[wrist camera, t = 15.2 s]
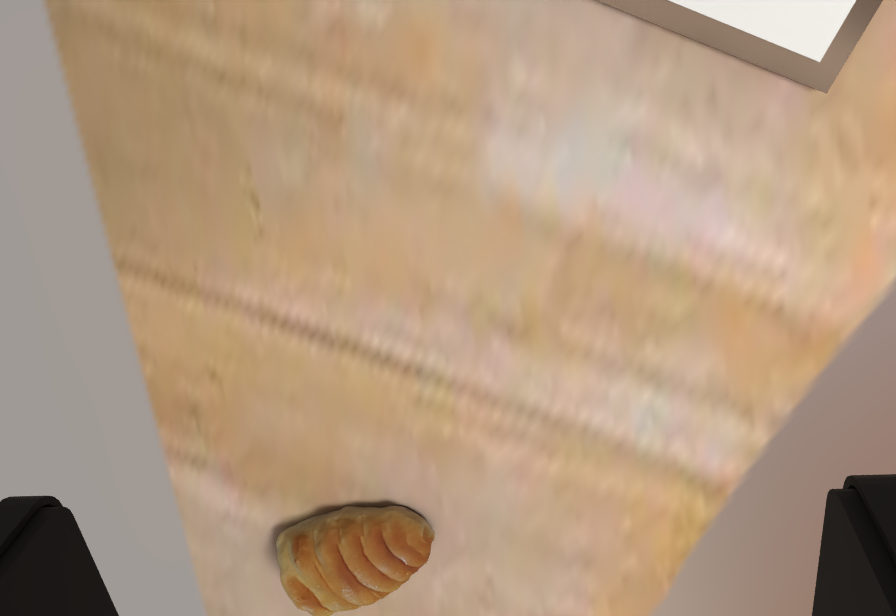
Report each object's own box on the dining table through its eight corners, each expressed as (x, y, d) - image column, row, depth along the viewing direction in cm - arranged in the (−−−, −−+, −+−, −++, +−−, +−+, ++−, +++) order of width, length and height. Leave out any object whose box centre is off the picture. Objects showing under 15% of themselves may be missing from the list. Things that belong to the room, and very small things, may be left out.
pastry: (399, 473, 46) (387, 520, 43) (458, 550, 49) (452, 600, 46) (273, 525, 50) (253, 572, 46) (335, 594, 52) (320, 644, 49)
